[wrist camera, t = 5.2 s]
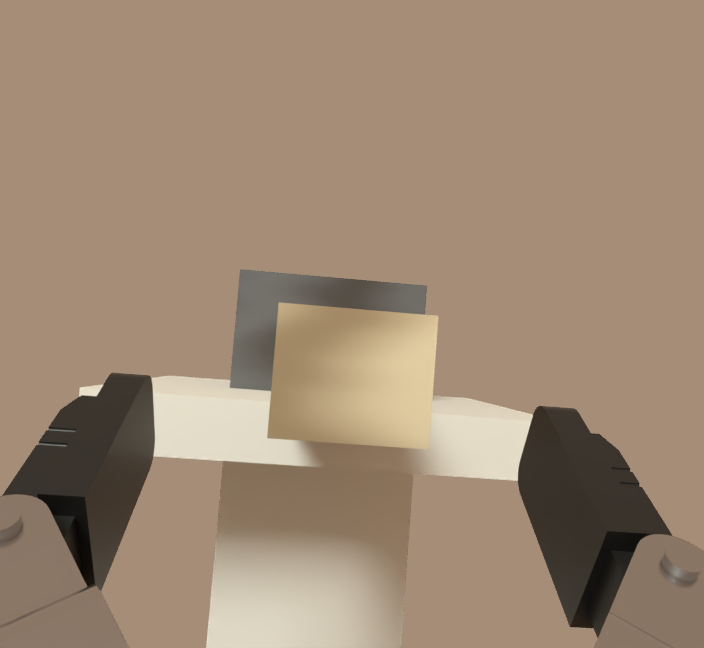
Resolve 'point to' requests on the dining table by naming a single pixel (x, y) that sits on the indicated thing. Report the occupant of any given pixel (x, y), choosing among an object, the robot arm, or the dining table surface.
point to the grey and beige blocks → (337, 357)
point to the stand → (317, 512)
